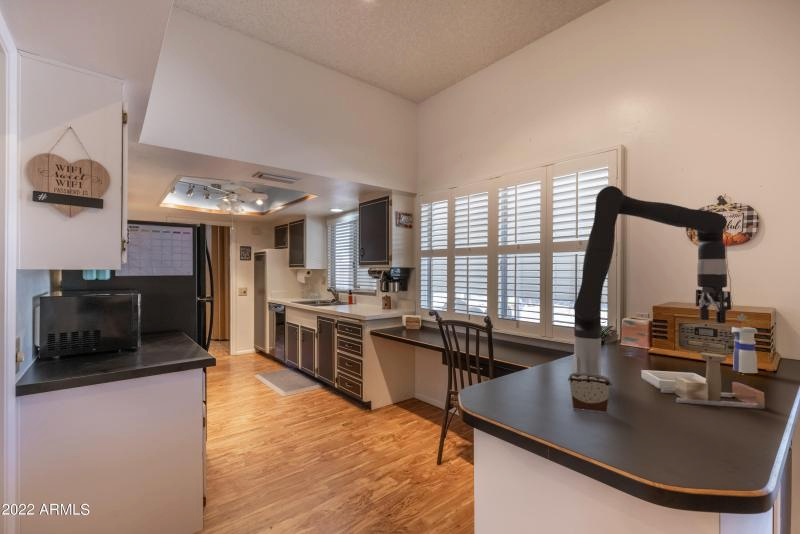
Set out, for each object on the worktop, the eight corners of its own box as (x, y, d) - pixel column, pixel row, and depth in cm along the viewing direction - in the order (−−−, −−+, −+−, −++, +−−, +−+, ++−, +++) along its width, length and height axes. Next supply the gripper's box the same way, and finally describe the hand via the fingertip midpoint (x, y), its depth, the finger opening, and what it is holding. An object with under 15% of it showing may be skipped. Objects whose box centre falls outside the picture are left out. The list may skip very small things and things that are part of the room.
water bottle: (725, 369, 158) (725, 313, 159) (747, 370, 157) (746, 313, 158) (740, 374, 150) (740, 315, 151) (763, 375, 149) (763, 315, 150)
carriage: (686, 400, 118) (686, 382, 118) (675, 393, 125) (675, 376, 125) (708, 402, 117) (707, 383, 117) (695, 395, 123) (695, 377, 123)
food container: (608, 406, 113) (608, 374, 113) (613, 413, 107) (612, 379, 107) (565, 401, 117) (565, 370, 117) (567, 408, 111) (567, 375, 111)
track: (677, 402, 117) (677, 387, 117) (661, 391, 127) (661, 377, 127) (764, 408, 112) (764, 392, 112) (739, 397, 122) (739, 382, 122)
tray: (659, 389, 130) (659, 380, 130) (641, 378, 144) (641, 370, 145) (718, 393, 126) (717, 383, 127) (694, 381, 140) (694, 373, 141)
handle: (704, 396, 123) (703, 352, 124) (728, 401, 118) (728, 355, 118) (698, 398, 121) (698, 353, 121) (723, 404, 115) (722, 357, 116)
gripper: (686, 273, 128) (687, 318, 128) (712, 272, 114) (713, 324, 114) (711, 273, 126) (712, 319, 126) (740, 273, 112) (741, 324, 112)
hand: (712, 321), depth 120 cm, fingers open, 8 cm apart
